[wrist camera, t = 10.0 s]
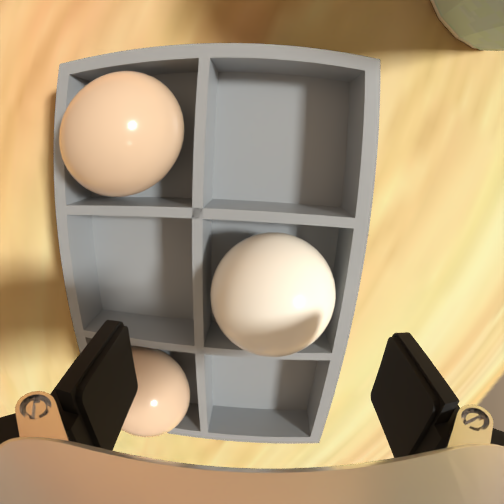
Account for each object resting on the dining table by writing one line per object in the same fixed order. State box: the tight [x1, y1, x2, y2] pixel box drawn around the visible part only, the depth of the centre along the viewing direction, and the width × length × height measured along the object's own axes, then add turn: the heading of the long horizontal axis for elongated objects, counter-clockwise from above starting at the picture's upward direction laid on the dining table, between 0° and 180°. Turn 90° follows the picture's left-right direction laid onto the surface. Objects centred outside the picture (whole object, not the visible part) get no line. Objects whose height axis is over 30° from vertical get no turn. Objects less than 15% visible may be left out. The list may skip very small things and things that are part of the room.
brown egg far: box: [121, 346, 190, 437], centre depth 18 cm, size 6×6×6 cm
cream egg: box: [210, 232, 336, 357], centre depth 15 cm, size 6×6×6 cm
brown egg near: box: [59, 71, 184, 197], centre depth 13 cm, size 6×6×6 cm
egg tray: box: [54, 43, 380, 443], centre depth 17 cm, size 24×16×4 cm
